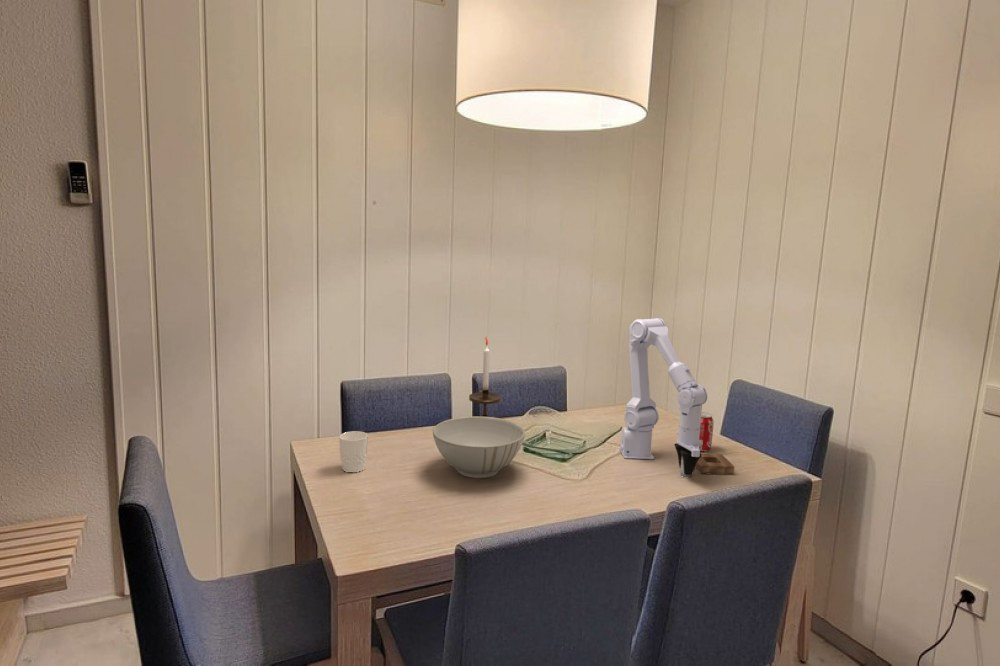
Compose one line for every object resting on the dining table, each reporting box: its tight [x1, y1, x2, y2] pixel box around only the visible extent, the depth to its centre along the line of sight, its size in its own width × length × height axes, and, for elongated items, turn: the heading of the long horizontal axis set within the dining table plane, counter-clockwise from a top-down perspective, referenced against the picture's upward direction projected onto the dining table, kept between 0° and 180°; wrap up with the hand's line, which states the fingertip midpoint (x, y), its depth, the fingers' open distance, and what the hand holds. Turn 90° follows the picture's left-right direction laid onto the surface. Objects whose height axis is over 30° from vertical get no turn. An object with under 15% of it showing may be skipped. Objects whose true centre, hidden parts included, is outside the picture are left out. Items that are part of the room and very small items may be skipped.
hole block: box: [694, 453, 735, 475], centre depth 179 cm, size 10×10×2 cm
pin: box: [679, 458, 692, 478], centre depth 172 cm, size 3×3×6 cm
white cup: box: [339, 430, 368, 473], centre depth 169 cm, size 8×8×10 cm
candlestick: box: [468, 335, 502, 417], centre depth 197 cm, size 11×11×35 cm
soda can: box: [699, 411, 715, 452], centre depth 194 cm, size 7×7×12 cm
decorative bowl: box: [432, 415, 526, 479], centre depth 171 cm, size 27×27×12 cm
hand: (685, 471), depth 172 cm, fingers open, 4 cm apart
